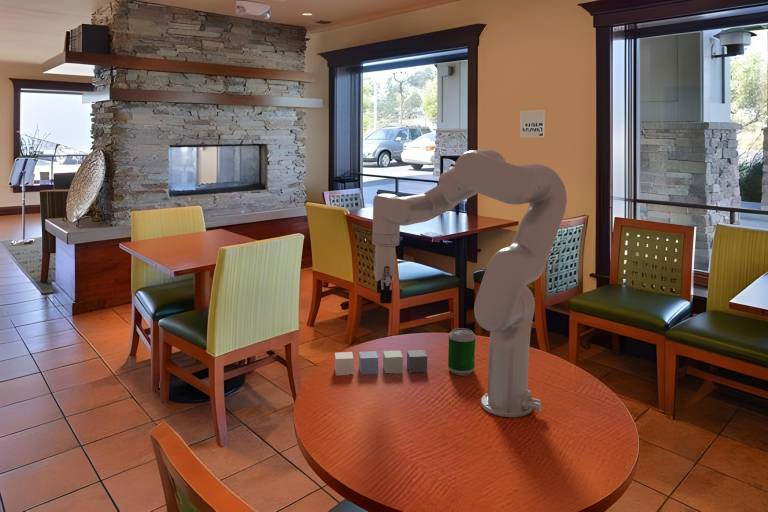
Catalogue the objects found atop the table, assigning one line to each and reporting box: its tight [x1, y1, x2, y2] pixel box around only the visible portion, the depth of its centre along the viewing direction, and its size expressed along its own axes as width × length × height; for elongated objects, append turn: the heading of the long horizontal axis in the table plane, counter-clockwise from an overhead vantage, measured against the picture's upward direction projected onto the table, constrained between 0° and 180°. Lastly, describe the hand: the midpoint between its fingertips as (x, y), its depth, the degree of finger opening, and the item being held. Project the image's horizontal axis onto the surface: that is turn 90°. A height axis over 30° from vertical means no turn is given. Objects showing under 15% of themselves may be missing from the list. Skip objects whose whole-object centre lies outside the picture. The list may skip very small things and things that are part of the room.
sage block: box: [382, 350, 404, 374], centre depth 163 cm, size 5×5×5 cm
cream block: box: [334, 351, 355, 376], centre depth 162 cm, size 5×5×5 cm
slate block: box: [358, 350, 379, 375], centre depth 163 cm, size 5×5×5 cm
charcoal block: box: [406, 349, 428, 373], centre depth 164 cm, size 5×5×5 cm
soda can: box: [447, 327, 477, 376], centre depth 161 cm, size 8×8×12 cm
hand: (384, 297), depth 161 cm, fingers open, 9 cm apart
